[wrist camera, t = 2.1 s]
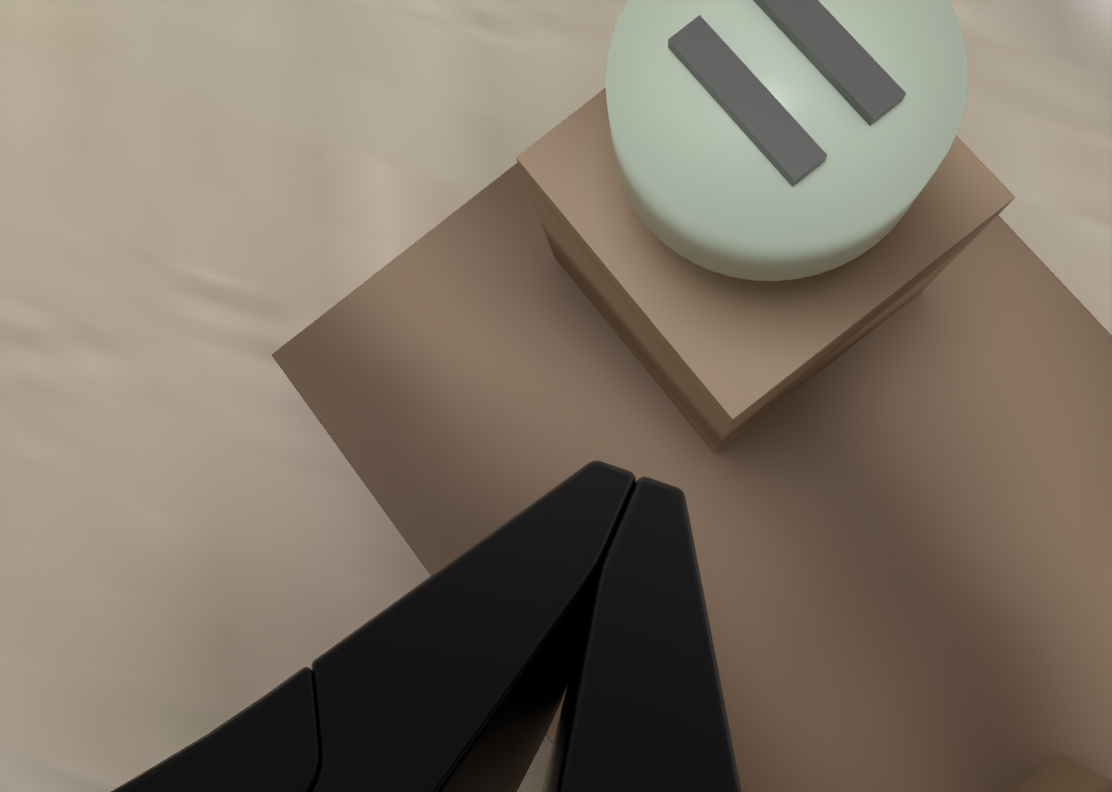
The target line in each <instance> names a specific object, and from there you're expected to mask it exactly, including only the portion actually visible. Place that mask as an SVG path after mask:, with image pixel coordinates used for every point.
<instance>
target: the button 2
mask: <svg viewBox="0 0 1112 792" xmlns="http://www.w3.org/2000/svg"><path fill="white" fill-rule="evenodd" d="M605 86H606V99H607V108H608V116H609V124H610V131H611V139H612V146H613V154H614V159H615V163H616V168H617V172H618V176H619V178H620V181H621V184H622V186H623V189H624V192H625V194H626V195H627V197H628V199H629V201H630V203H631V205H632V207H633V208H634V210H635V211H636V213H637V214H638V215H639V217H640V218H641V220H642V221H643V222H644V224H645V225H646V226H647V227H648V228H649V229H650V230H651V231H652V232H653V233H654V234H655V235H656V236H657V237H658V238H659V240H661V241H662V242H663V243H664V244H666V245H667V246H668V247H670V248H671V249H672V250H673V251H675V252H676V253H678V254H679V255H681V256H683V257H684V258H686V259H688V260H689V261H691V262H693V263H695V264H697V265H699V266H702V267H704V268H706V269H709V270H711V271H713V272H717V273H720V274H724V275H727V276H731V277H735V278H742V279H748V280H756V281H782V280H792V279H799V278H804V277H808V276H813V275H817V274H820V273H823V272H826V271H829V270H831V269H834V268H837V267H839V266H841V265H843V264H845V263H847V262H849V261H851V260H853V259H855V258H857V257H859V256H860V255H861V254H863V253H864V252H866V251H867V250H869V249H870V248H872V247H873V246H875V245H876V244H877V243H878V242H879V241H880V240H881V239H882V238H884V237H885V236H886V235H887V234H888V233H889V232H890V231H891V230H892V229H893V228H894V227H895V225H896V224H897V223H898V222H899V221H900V220H901V218H902V217H903V216H904V215H905V213H906V212H907V211H908V209H909V208H910V206H911V205H912V203H913V202H914V201H915V199H916V198H917V196H918V195H919V194H920V192H921V191H922V189H923V188H924V187H925V185H926V184H927V182H928V181H929V180H930V178H931V177H932V175H933V174H934V173H935V171H936V170H937V168H938V167H939V165H940V163H941V162H942V160H943V159H944V157H945V156H946V154H947V153H948V151H949V149H950V147H951V145H952V142H953V140H954V138H955V136H956V134H957V131H958V129H959V126H960V122H961V119H962V115H963V112H964V109H965V103H966V96H967V89H968V61H967V54H966V47H965V41H964V38H963V34H962V31H961V28H960V24H959V21H958V19H957V16H956V14H955V12H954V10H953V8H952V6H951V3H950V1H949V0H628V1H627V3H626V5H625V7H624V9H623V11H622V13H621V15H620V17H619V19H618V21H617V24H616V27H615V30H614V33H613V36H612V39H611V42H610V47H609V52H608V57H607V62H606V80H605Z"/></svg>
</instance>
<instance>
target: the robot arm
mask: <svg viewBox="0 0 1112 792" xmlns="http://www.w3.org/2000/svg"><path fill="white" fill-rule="evenodd" d="M566 689H567V690H566ZM565 691H566V693H565ZM564 694H565V697H564V701H563V704H562V708H561V712H560V716H559V720H558V724H557V728H556V732H555V736H554V741H553V745H552V750H551V754H550V759H549V763H548V768H547V772H546V777H545V781H544V786H543V790H542V792H742V791H741V786H740V781H739V775H738V770H737V765H736V760H735V754H734V749H733V744H732V739H731V733H730V728H729V723H728V718H727V712H726V707H725V702H724V697H723V692H722V686H721V681H720V676H719V671H718V665H717V660H716V655H715V650H714V644H713V639H712V634H711V629H710V623H709V618H708V613H707V608H706V602H705V597H704V592H703V587H702V581H701V576H700V571H699V566H698V561H697V555H696V550H695V545H694V540H693V534H692V529H691V524H690V519H689V513H688V508H687V503H686V498H685V495H684V493H683V491H682V490H681V489H680V488H678V487H675V486H672V485H669V484H666V483H663V482H661V481H658V480H655V479H652V478H649V477H641V478H639V479H638V480H637V482H636V477H635V475H634V474H633V472H631V471H628V470H625V469H622V468H619V467H616V466H613V465H611V464H608V463H605V462H602V461H592V462H590V463H588V464H586V465H585V466H584V467H582V468H581V469H579V470H578V471H577V472H575V473H574V474H572V475H571V476H570V477H568V478H567V479H566V480H564V481H563V482H561V483H560V484H559V485H557V486H556V487H554V488H553V489H552V490H550V491H549V492H547V493H546V494H545V495H543V496H542V497H541V498H539V499H538V500H536V501H535V502H534V503H532V504H531V505H529V506H528V507H527V508H525V509H524V510H522V511H521V512H520V513H518V514H517V515H516V516H514V517H513V518H511V519H510V520H509V521H507V522H506V523H504V524H503V525H502V526H500V527H499V528H497V529H496V530H495V531H493V532H492V533H491V534H489V535H488V536H486V537H485V538H484V539H482V540H481V541H479V542H478V543H477V544H475V545H474V546H472V547H471V548H470V549H468V550H467V551H466V552H464V553H463V554H461V555H460V556H459V557H457V558H456V559H454V560H453V561H452V562H450V563H449V564H447V565H446V566H445V567H443V568H442V569H441V570H439V571H438V572H436V573H435V574H434V575H432V576H431V577H429V578H428V579H427V580H425V581H424V582H422V583H421V584H420V585H418V586H417V587H416V588H414V589H413V590H411V591H410V592H409V593H407V594H406V595H404V596H403V597H402V598H400V599H399V600H397V601H396V602H395V603H393V604H392V605H391V606H389V607H388V608H386V609H385V610H384V611H382V612H381V613H379V614H378V615H377V616H375V617H374V618H372V619H371V620H370V621H368V622H367V623H366V624H364V625H363V626H361V627H360V628H359V629H357V630H356V631H354V632H353V633H352V634H350V635H349V636H347V637H346V638H345V639H343V640H342V641H340V642H339V643H338V644H336V645H335V646H334V647H332V648H331V649H329V650H328V651H327V652H325V653H324V654H322V655H321V656H320V657H318V658H317V659H315V660H314V661H313V663H312V670H311V669H310V668H308V667H304V668H302V669H301V670H299V671H298V672H297V673H295V674H294V675H293V676H291V677H290V678H288V679H287V680H286V681H284V682H283V683H281V684H280V685H279V686H277V687H276V688H275V689H273V690H272V691H270V692H269V693H268V694H266V695H265V696H263V697H262V698H260V699H259V700H258V701H256V702H255V703H253V704H252V705H250V706H249V707H247V708H246V709H244V710H243V711H241V712H240V713H238V714H237V715H235V716H234V717H232V718H231V719H229V720H228V721H226V722H225V723H223V724H222V725H221V726H219V727H218V728H216V729H215V730H213V731H212V732H210V733H209V734H207V735H206V736H204V737H202V738H201V739H199V740H197V741H196V742H194V743H192V744H191V745H189V746H187V747H186V748H184V749H182V750H181V751H179V752H177V753H176V754H174V755H172V756H171V757H169V758H167V759H166V760H164V761H162V762H161V763H159V764H157V765H156V766H154V767H152V768H151V769H149V770H147V771H146V772H144V773H142V774H140V775H139V776H137V777H135V778H134V779H132V780H130V781H128V782H127V783H125V784H123V785H121V786H120V787H118V788H116V789H114V790H113V791H111V792H517V790H518V788H519V786H520V784H521V782H522V780H523V778H524V776H525V774H526V772H527V770H528V768H529V766H530V765H531V763H532V761H533V759H534V757H535V755H536V753H537V751H538V749H539V747H540V745H541V743H542V741H543V739H544V737H545V735H546V733H547V731H548V729H549V727H550V725H551V723H552V721H553V719H554V717H555V715H556V713H557V710H558V708H559V706H560V704H561V701H562V699H563V696H564Z"/></svg>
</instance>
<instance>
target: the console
mask: <svg viewBox="0 0 1112 792" xmlns="http://www.w3.org/2000/svg"><path fill="white" fill-rule="evenodd" d="M516 158H517V161H518V163H516V164H515V165H514V166H513V167H511V168H510V169H509V170H507V171H506V172H505V173H504V174H502V175H501V176H500V177H499V178H497V179H496V180H495V181H493V182H492V183H491V184H490V185H488V186H487V187H486V188H484V189H483V190H482V191H481V192H479V193H478V194H477V195H475V196H474V197H473V198H472V199H470V200H469V201H468V202H467V203H465V204H464V205H463V206H461V207H460V208H459V209H458V210H456V211H455V212H454V213H452V214H451V215H450V216H449V217H447V218H446V219H445V220H443V221H442V222H441V223H440V224H438V225H437V226H436V227H435V228H433V229H432V230H431V231H429V232H428V233H427V234H426V235H424V236H423V237H422V238H420V239H419V240H418V241H417V242H415V243H414V244H413V245H412V246H410V247H409V248H408V249H406V250H405V251H404V252H403V253H401V254H400V255H399V256H397V257H396V258H395V259H394V260H392V261H391V262H390V263H388V264H387V265H386V266H385V267H383V268H382V269H381V270H380V271H378V272H377V273H376V274H374V275H373V276H372V277H371V278H369V279H368V280H367V281H365V282H364V283H363V284H362V285H360V286H359V287H358V288H356V289H355V290H354V291H353V292H351V293H350V294H349V295H348V296H346V297H345V298H344V299H342V300H341V301H340V302H339V303H337V304H336V305H335V306H333V307H332V308H331V309H330V310H328V311H327V312H326V313H325V314H323V315H322V316H321V317H319V318H318V319H317V320H316V321H314V322H313V323H312V324H310V325H309V326H308V327H307V328H305V329H304V330H303V331H301V332H300V333H299V334H298V335H296V336H295V337H294V338H293V339H291V340H290V341H289V342H287V343H286V344H285V345H284V346H282V347H281V348H280V349H278V350H277V351H276V352H275V353H273V354H272V356H273V358H274V359H275V360H276V362H277V363H278V365H279V366H280V367H281V369H282V370H283V371H284V373H285V374H286V376H287V377H288V378H289V380H290V381H291V383H292V384H293V385H294V387H295V388H296V389H297V391H298V392H299V394H300V395H301V396H302V398H303V399H304V401H305V402H306V403H307V405H308V406H309V407H310V409H311V410H312V412H313V413H314V414H315V416H316V417H317V419H318V420H319V421H320V423H321V424H322V425H323V427H324V428H325V430H326V431H327V432H328V434H329V435H330V436H331V438H332V439H333V441H334V442H335V443H336V445H337V446H338V448H339V449H340V450H341V452H342V453H343V454H344V456H345V457H346V459H347V460H348V461H349V463H350V464H351V466H352V467H353V468H354V470H355V471H356V472H357V474H358V475H359V477H360V478H361V479H362V481H363V482H364V484H365V485H366V486H367V488H368V489H369V490H370V492H371V493H372V495H373V496H374V497H375V499H376V500H377V502H378V503H379V504H380V506H381V507H382V508H383V510H384V511H385V513H386V514H387V515H388V517H389V518H390V520H391V521H392V522H393V524H394V525H395V526H396V528H397V529H398V531H399V532H400V533H401V535H402V536H403V537H404V539H405V540H406V542H407V543H408V544H409V546H410V547H411V549H412V550H413V551H414V553H415V554H416V555H417V557H418V558H419V560H420V561H421V562H422V564H423V565H424V567H425V568H426V569H427V571H428V572H429V573H430V575H431V576H432V575H434V574H435V573H436V572H438V571H439V570H441V569H442V568H443V567H445V566H446V565H447V564H449V563H450V562H452V561H453V560H454V559H456V558H457V557H459V556H460V555H461V554H463V553H464V552H466V551H467V550H468V549H470V548H471V547H472V546H474V545H475V544H477V543H478V542H479V541H481V540H482V539H484V538H485V537H486V536H488V535H489V534H491V533H492V532H493V531H495V530H496V529H497V528H499V527H500V526H502V525H503V524H504V523H506V522H507V521H509V520H510V519H511V518H513V517H514V516H516V515H517V514H518V513H520V512H521V511H522V510H524V509H525V508H527V507H528V506H529V505H531V504H532V503H534V502H535V501H536V500H538V499H539V498H541V497H542V496H543V495H545V494H546V493H547V492H549V491H550V490H552V489H553V488H554V487H556V486H557V485H559V484H560V483H561V482H563V481H564V480H566V479H567V478H568V477H570V476H571V475H572V474H574V473H575V472H577V471H578V470H579V469H581V468H582V467H584V466H585V465H586V464H588V463H590V462H592V461H602V462H605V463H608V464H611V465H613V466H616V467H619V468H622V469H625V470H628V471H631V472H633V474H634V475H635V477H636V482H637V480H638V479H639V478H641V477H649V478H652V479H655V480H658V481H661V482H663V483H666V484H669V485H672V486H675V487H678V488H680V489H681V490H682V491H683V493H684V495H685V498H686V503H687V508H688V513H689V519H690V524H691V529H692V534H693V540H694V545H695V550H696V555H697V561H698V566H699V571H700V576H701V581H702V587H703V592H704V597H705V602H706V608H707V613H708V618H709V623H710V629H711V634H712V639H713V644H714V650H715V655H716V660H717V665H718V671H719V676H720V681H721V686H722V692H723V697H724V702H725V707H726V712H727V718H728V723H729V728H730V733H731V739H732V744H733V749H734V754H735V760H736V765H737V770H738V775H739V781H740V786H741V791H742V792H1112V335H1111V334H1110V333H1109V332H1108V331H1107V330H1106V329H1105V328H1104V327H1103V326H1102V325H1101V324H1100V323H1099V322H1098V320H1097V319H1096V318H1095V317H1094V316H1093V315H1092V314H1091V313H1090V312H1089V311H1088V310H1087V309H1086V308H1085V307H1084V306H1083V305H1082V303H1081V302H1080V301H1079V300H1078V299H1077V298H1076V297H1075V296H1074V295H1073V294H1072V293H1071V292H1070V291H1069V290H1068V289H1067V288H1066V286H1065V285H1064V284H1063V283H1062V282H1061V281H1060V280H1059V279H1058V278H1057V277H1056V276H1055V275H1054V274H1053V273H1052V272H1051V271H1050V270H1049V268H1048V267H1047V266H1046V265H1045V264H1044V263H1043V262H1042V261H1041V260H1040V259H1039V258H1038V257H1037V256H1036V255H1035V254H1034V253H1033V251H1032V250H1031V249H1030V248H1029V247H1028V246H1027V245H1026V244H1025V243H1024V242H1023V241H1022V240H1021V239H1020V238H1019V237H1018V236H1017V234H1016V233H1015V232H1014V231H1013V230H1012V229H1011V228H1010V227H1009V226H1008V225H1007V224H1006V223H1005V222H1004V221H1003V220H1002V219H1001V217H1000V216H999V215H998V214H999V213H1000V212H1001V211H1002V210H1003V209H1004V208H1005V207H1006V206H1007V205H1008V204H1009V203H1010V202H1011V201H1012V200H1013V199H1014V198H1015V196H1014V195H1013V194H1012V193H1011V192H1010V191H1009V190H1008V189H1007V188H1006V187H1005V186H1004V185H1003V184H1002V183H1001V182H1000V181H999V180H998V179H997V178H996V176H995V175H994V174H993V173H992V172H991V171H990V170H989V169H988V168H987V167H986V166H985V165H984V164H983V163H982V162H981V161H980V160H979V159H978V158H977V156H976V155H975V154H974V153H973V152H972V151H971V150H970V149H969V148H968V147H967V146H966V145H965V144H964V143H963V142H962V141H961V140H960V139H959V138H958V136H957V135H956V136H955V138H954V140H953V142H952V145H951V147H950V149H949V151H948V153H947V154H946V156H945V157H944V159H943V160H942V162H941V163H940V165H939V167H938V168H937V170H936V171H935V173H934V174H933V175H932V177H931V178H930V180H929V181H928V182H927V184H926V185H925V187H924V188H923V189H922V191H921V192H920V194H919V195H918V196H917V198H916V199H915V201H914V202H913V203H912V205H911V206H910V208H909V209H908V211H907V212H906V213H905V215H904V216H903V217H902V218H901V220H900V221H899V222H898V223H897V224H896V225H895V227H894V228H893V229H892V230H891V231H890V232H889V233H888V234H887V235H886V236H885V237H884V238H882V239H881V240H880V241H879V242H878V243H877V244H876V245H875V246H873V247H872V248H870V249H869V250H867V251H866V252H864V253H863V254H861V255H860V256H859V257H857V258H855V259H853V260H851V261H849V262H847V263H845V264H843V265H841V266H839V267H837V268H834V269H831V270H829V271H826V272H823V273H820V274H817V275H813V276H808V277H804V278H799V279H792V280H782V281H756V280H748V279H742V278H735V277H731V276H727V275H724V274H720V273H717V272H713V271H711V270H709V269H706V268H704V267H702V266H699V265H697V264H695V263H693V262H691V261H689V260H688V259H686V258H684V257H683V256H681V255H679V254H678V253H676V252H675V251H673V250H672V249H671V248H670V247H668V246H667V245H666V244H664V243H663V242H662V241H661V240H659V238H658V237H657V236H656V235H655V234H654V233H653V232H652V231H651V230H650V229H649V228H648V227H647V226H646V225H645V224H644V222H643V221H642V220H641V218H640V217H639V215H638V214H637V213H636V211H635V210H634V208H633V207H632V205H631V203H630V201H629V199H628V197H627V195H626V194H625V192H624V189H623V186H622V184H621V181H620V178H619V176H618V172H617V168H616V163H615V159H614V154H613V146H612V139H611V131H610V124H609V116H608V108H607V99H606V88H605V89H604V90H602V91H601V92H600V93H598V94H597V95H596V96H595V97H593V98H592V99H591V100H589V101H588V102H587V103H586V104H584V105H583V106H582V107H580V108H579V109H578V110H577V111H575V112H574V113H573V114H572V115H570V116H569V117H568V118H566V119H565V120H564V121H563V122H561V123H560V124H559V125H557V126H556V127H555V128H554V129H552V130H551V131H550V132H548V133H547V134H546V135H545V136H543V137H542V138H541V139H540V140H538V141H537V142H536V143H534V144H533V145H532V146H531V147H529V148H528V149H527V150H525V151H524V152H523V153H522V154H520V155H519V156H518V157H516ZM566 690H567V689H566ZM565 693H566V691H565ZM564 697H565V694H564V696H563V699H562V701H561V704H560V706H559V708H558V710H557V713H556V715H555V717H554V719H553V721H552V723H551V725H550V727H549V729H548V731H547V733H546V735H547V737H548V738H549V740H550V741H551V742H552V744H553V741H554V736H555V732H556V728H557V724H558V720H559V716H560V712H561V708H562V704H563V701H564Z"/></svg>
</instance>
